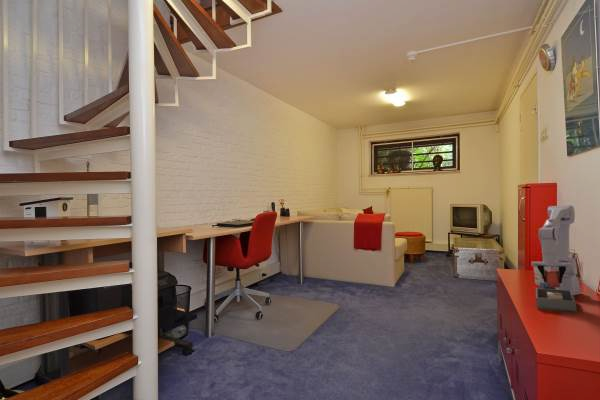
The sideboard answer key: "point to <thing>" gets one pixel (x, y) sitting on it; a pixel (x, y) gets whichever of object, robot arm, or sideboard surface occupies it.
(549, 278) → the capsule
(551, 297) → the cube
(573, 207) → the robot arm
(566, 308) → the tote
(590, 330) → the sideboard surface
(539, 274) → the ink box
